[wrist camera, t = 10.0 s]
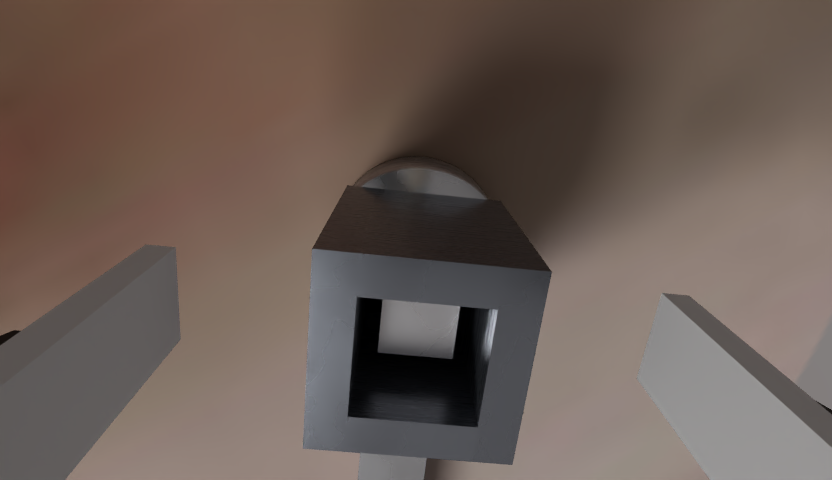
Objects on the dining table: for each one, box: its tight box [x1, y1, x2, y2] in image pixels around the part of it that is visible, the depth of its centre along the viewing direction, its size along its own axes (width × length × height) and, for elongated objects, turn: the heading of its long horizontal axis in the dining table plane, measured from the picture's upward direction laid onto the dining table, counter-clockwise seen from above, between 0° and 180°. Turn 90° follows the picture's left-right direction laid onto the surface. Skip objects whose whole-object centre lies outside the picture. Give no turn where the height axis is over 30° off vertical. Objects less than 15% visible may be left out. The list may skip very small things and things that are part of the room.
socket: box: [303, 185, 552, 465], centre depth 16 cm, size 6×6×7 cm
